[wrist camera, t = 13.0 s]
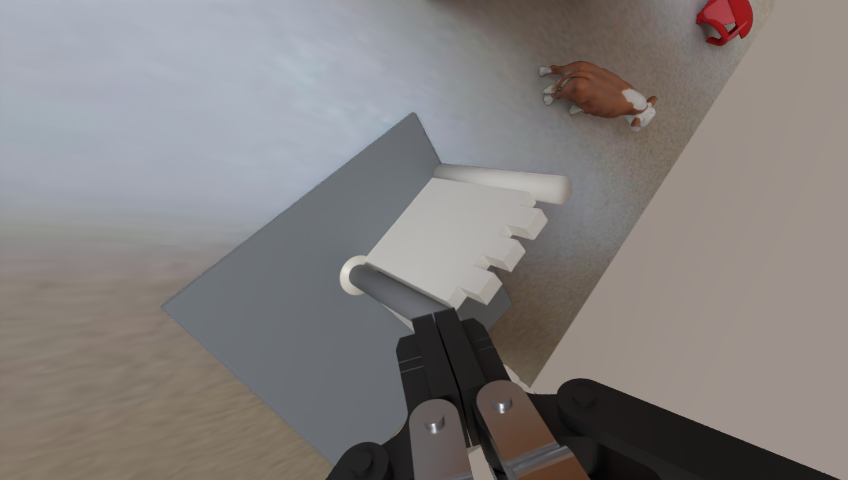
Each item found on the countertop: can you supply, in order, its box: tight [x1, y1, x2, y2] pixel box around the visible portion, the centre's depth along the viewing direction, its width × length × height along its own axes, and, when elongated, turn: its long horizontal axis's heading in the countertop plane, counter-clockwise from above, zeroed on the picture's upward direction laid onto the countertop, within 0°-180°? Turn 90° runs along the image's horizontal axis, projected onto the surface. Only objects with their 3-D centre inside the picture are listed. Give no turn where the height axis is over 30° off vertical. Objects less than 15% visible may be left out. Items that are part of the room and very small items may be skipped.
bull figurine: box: [539, 61, 657, 132], centre depth 48 cm, size 4×13×8 cm, turn 70°
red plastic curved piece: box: [696, 0, 753, 46], centre depth 62 cm, size 8×6×6 cm
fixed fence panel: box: [349, 164, 572, 322], centre depth 36 cm, size 14×2×14 cm, turn 132°
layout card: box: [161, 113, 513, 466], centre depth 42 cm, size 25×25×1 cm
